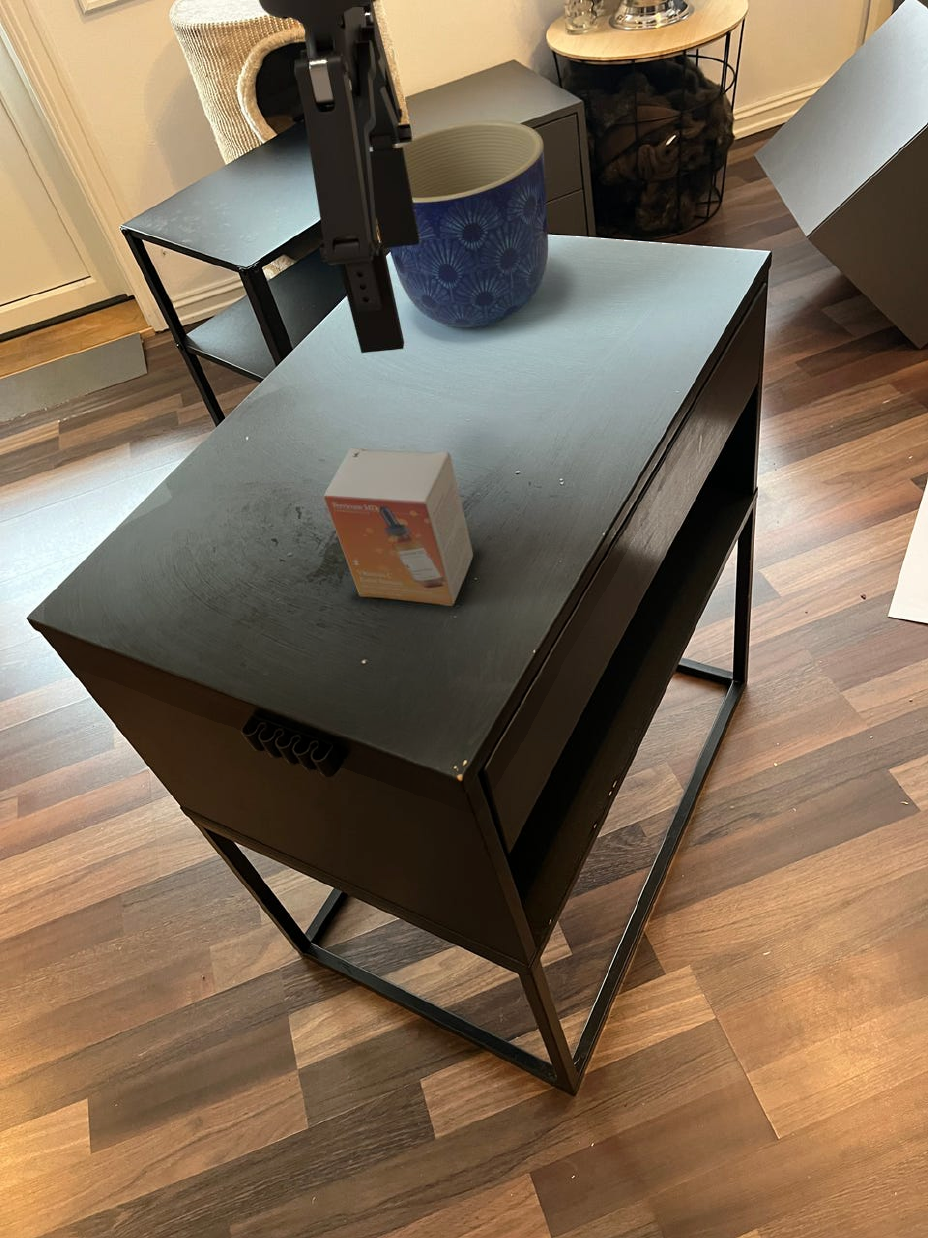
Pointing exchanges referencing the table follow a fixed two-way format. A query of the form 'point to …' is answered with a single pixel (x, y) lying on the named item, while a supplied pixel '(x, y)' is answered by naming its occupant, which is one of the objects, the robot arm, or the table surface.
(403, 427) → the table surface
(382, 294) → the robot arm
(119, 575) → the table surface
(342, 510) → the small box
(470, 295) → the planter
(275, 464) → the table surface
